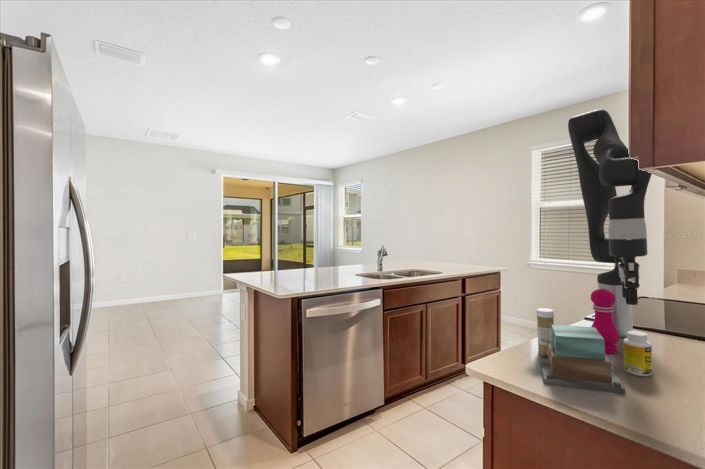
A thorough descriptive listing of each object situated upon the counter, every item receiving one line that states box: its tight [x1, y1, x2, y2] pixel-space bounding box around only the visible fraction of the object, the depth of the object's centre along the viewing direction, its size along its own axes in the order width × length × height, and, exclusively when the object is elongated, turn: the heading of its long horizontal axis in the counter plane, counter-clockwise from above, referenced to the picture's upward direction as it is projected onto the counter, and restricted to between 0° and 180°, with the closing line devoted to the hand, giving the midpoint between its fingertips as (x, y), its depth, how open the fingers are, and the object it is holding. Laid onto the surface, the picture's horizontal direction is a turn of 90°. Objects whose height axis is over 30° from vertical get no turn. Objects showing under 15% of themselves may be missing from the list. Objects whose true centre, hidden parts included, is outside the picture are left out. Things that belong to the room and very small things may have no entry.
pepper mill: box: [590, 284, 620, 355], centre depth 103 cm, size 7×7×20 cm
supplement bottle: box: [622, 330, 653, 377], centre depth 88 cm, size 6×6×10 cm
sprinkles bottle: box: [535, 307, 555, 356], centre depth 102 cm, size 5×5×13 cm
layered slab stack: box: [539, 324, 626, 395], centre depth 88 cm, size 16×16×11 cm
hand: (629, 301), depth 87 cm, fingers open, 8 cm apart
